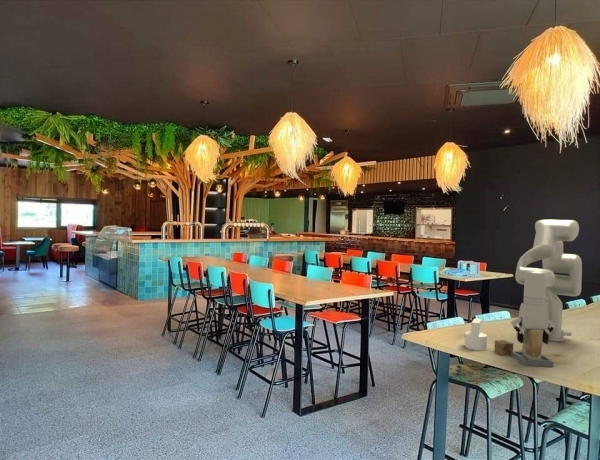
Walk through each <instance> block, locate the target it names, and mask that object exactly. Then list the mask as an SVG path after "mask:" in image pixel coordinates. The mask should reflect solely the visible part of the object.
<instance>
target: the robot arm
mask: <svg viewBox="0 0 600 460" xmlns="http://www.w3.org/2000/svg"><path fill="white" fill-rule="evenodd" d="M534 229H535V236H534V241H533V247H532V248H530V249H528V251H526V252H524V254H523V255H521V256H520V257H519V260H518V261H517V265H516V269H515V274H514V276H515V281H516V282H517V284H520V285H522V286H523V285H524V287H523V302H521V304H520V306H519V312H518V317H517V318H516V319H514V320H511V321H510V323H511V325H512V328H513V329H514V331H516V333H517V334H516V340H517V342H518V343H520V344H523V340H524V330H525V329H536V330H541V331H543V338H542V344H545V345H548V342H557V343H558V342H559V343H560V342H565V340H566V339H565V337H571V336H572V334H573V333H572V331H565V330H564V329H563V330H562V323H563V308H564V307H563V305H564V304H563V302H562V300H561V299H560V298H559V295H560V296H567V297H577V296H580V295H581V293H582V287H583V286H582V283H583V282H582V279H583V278H582V277H583V274H582V273H583V265H582V264H583V263H582V262H583V261H582V258H581V257H580V256H579V255H578V254H575V253H573V254H572V253H564V242H573V241H574V240H575V239H576V238H577V237H578V235H579V231H580V226H579V223H578V221H576V220H574V219H539V220H537V221H536V222H535V224H534ZM541 260H542V261H541ZM538 261H541V263H542V268H538V267H527V266H529V265H530V264H532V263H535V262H538ZM555 273H557V274H555ZM562 274H567V275H562Z"/></svg>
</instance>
